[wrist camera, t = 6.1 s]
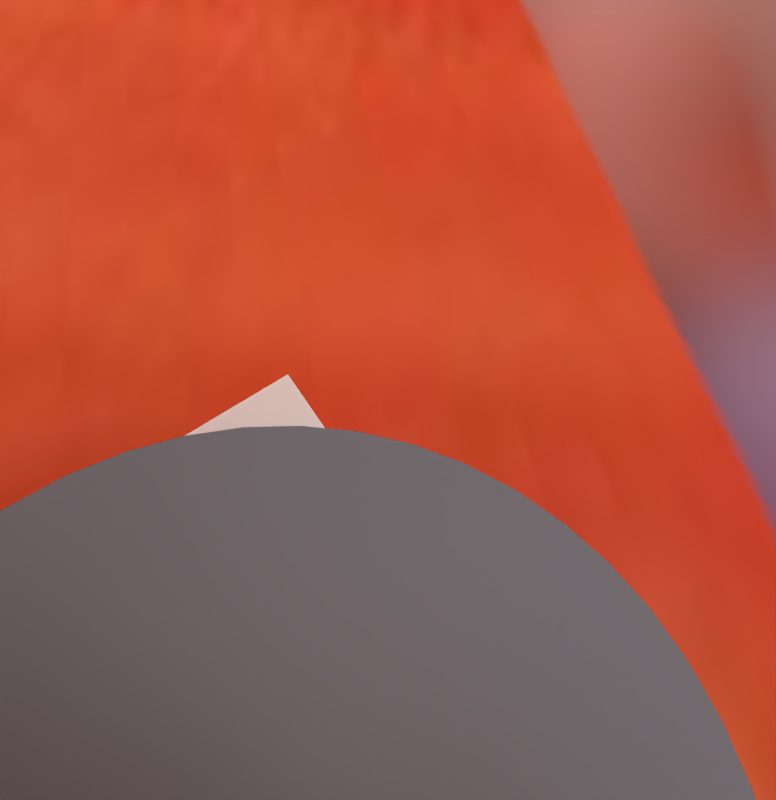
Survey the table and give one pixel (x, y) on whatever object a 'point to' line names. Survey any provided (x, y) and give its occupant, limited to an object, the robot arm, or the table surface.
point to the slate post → (330, 636)
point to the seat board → (266, 410)
